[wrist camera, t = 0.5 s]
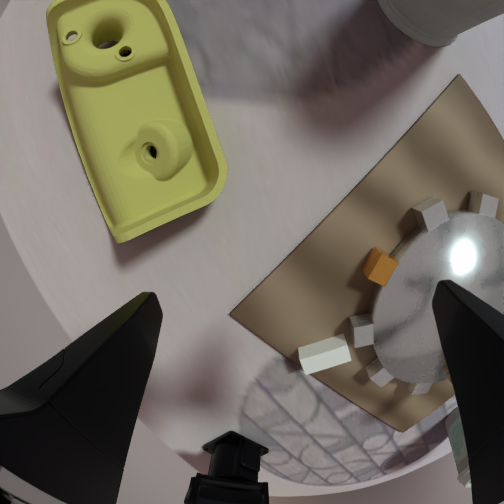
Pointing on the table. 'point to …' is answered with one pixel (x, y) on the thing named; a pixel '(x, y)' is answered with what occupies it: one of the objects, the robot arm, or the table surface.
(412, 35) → the tall grey black mug
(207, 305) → the table surface
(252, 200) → the table surface
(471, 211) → the sprocket
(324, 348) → the pale mint brick
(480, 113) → the sprocket board
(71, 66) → the plastic component
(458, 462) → the coffee cup
